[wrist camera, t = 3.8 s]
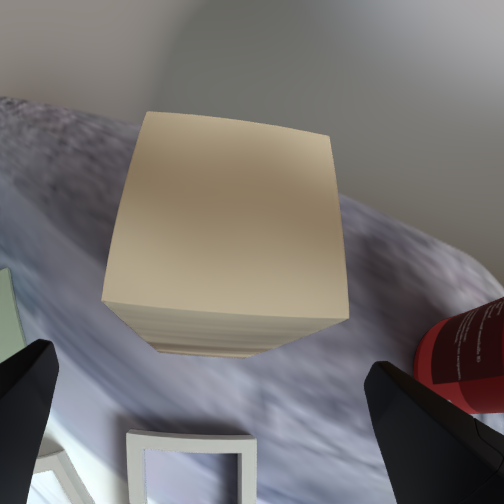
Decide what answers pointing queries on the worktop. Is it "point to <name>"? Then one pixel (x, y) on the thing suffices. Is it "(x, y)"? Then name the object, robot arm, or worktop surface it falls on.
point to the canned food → (466, 359)
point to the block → (227, 237)
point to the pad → (9, 319)
